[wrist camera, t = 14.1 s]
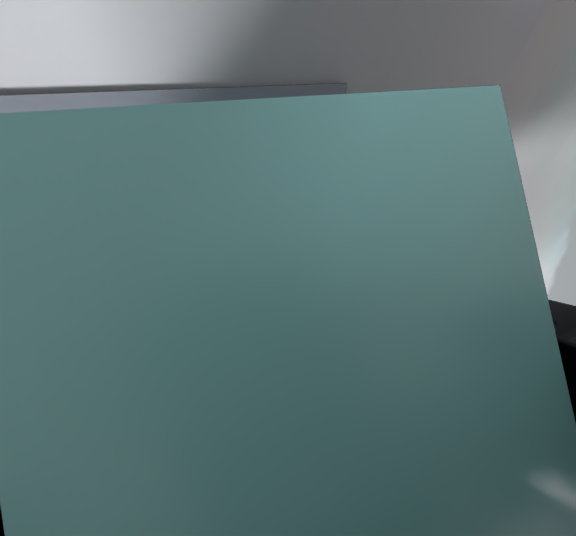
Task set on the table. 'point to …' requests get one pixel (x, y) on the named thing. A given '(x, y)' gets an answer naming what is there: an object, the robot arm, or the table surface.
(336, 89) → the tape square
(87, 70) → the table surface
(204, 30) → the table surface
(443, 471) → the chunky teal cube
